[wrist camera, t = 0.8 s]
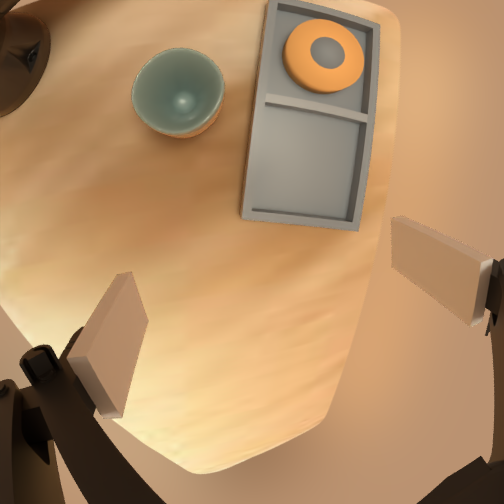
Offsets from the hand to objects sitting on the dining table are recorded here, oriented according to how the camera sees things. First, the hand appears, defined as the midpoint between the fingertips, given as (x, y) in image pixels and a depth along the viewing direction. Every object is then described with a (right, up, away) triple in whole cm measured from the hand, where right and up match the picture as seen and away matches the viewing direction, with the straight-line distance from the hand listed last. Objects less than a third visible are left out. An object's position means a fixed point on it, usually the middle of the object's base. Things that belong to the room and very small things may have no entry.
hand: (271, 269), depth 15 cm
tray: (+6, +17, +19) cm, 26 cm away
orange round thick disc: (+7, +23, +16) cm, 29 cm away
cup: (-8, +17, +17) cm, 26 cm away
